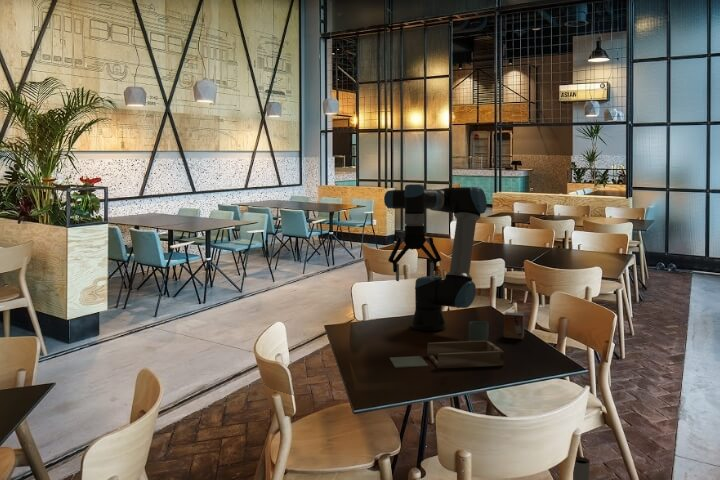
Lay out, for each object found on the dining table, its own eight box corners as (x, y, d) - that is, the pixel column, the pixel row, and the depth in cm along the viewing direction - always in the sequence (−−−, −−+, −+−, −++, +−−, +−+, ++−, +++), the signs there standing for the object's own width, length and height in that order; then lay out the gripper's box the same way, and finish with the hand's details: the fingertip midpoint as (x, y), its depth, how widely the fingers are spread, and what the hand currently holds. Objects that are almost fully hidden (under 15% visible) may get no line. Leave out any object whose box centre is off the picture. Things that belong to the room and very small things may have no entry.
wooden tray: (427, 355, 226) (427, 342, 226) (488, 352, 229) (488, 340, 229) (438, 368, 209) (438, 354, 209) (504, 365, 212) (504, 351, 212)
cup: (488, 350, 233) (488, 325, 232) (468, 349, 234) (468, 324, 234) (488, 345, 240) (488, 321, 240) (468, 344, 242) (468, 320, 241)
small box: (503, 338, 252) (503, 314, 251) (505, 335, 257) (505, 311, 256) (522, 340, 249) (523, 315, 248) (524, 337, 254) (524, 312, 253)
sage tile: (389, 358, 223) (389, 357, 223) (420, 357, 224) (420, 356, 224) (395, 367, 211) (395, 366, 211) (428, 366, 213) (428, 365, 213)
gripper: (383, 226, 220) (384, 282, 222) (449, 224, 223) (449, 280, 225) (380, 225, 228) (381, 279, 229) (443, 223, 231) (444, 277, 232)
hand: (414, 280), depth 227 cm, fingers open, 13 cm apart
